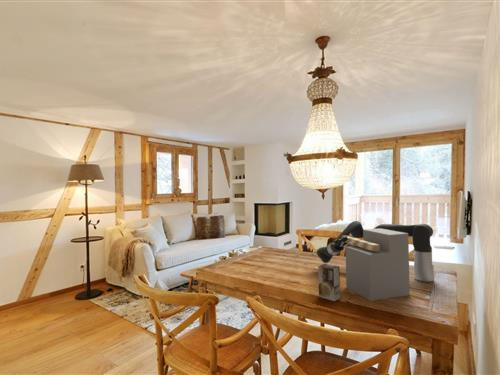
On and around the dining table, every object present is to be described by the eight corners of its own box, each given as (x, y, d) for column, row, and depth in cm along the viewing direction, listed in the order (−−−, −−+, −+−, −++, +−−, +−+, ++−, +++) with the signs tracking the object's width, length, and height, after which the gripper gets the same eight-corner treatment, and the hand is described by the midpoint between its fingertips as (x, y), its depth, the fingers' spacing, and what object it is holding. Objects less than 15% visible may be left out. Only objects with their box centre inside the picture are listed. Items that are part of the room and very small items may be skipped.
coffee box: (340, 298, 142) (340, 266, 142) (334, 301, 138) (333, 269, 138) (324, 293, 149) (324, 263, 149) (318, 296, 144) (317, 265, 144)
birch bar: (341, 241, 168) (341, 235, 168) (346, 241, 169) (346, 235, 169) (374, 251, 141) (374, 244, 141) (379, 251, 142) (379, 244, 142)
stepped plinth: (346, 287, 157) (345, 230, 157) (381, 282, 163) (380, 228, 164) (370, 300, 138) (369, 236, 138) (409, 295, 144) (408, 233, 144)
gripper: (346, 252, 177) (362, 243, 163) (327, 254, 173) (341, 244, 159) (343, 240, 181) (357, 231, 167) (324, 242, 177) (337, 232, 163)
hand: (349, 237), depth 163 cm, fingers closed on birch bar, 3 cm apart
